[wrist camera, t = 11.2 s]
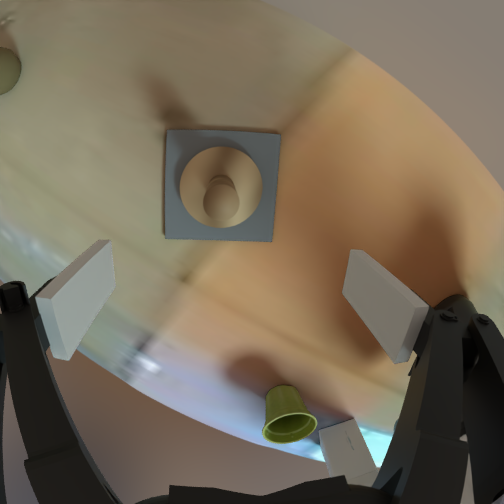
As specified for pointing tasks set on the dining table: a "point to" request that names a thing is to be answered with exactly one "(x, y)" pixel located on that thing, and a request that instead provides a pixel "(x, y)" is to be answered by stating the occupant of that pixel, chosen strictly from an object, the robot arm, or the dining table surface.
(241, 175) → the beige disc-based post
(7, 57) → the squeeze bottle
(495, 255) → the dining table surface
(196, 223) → the mat
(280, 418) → the plant pot
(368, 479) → the tall white carton
